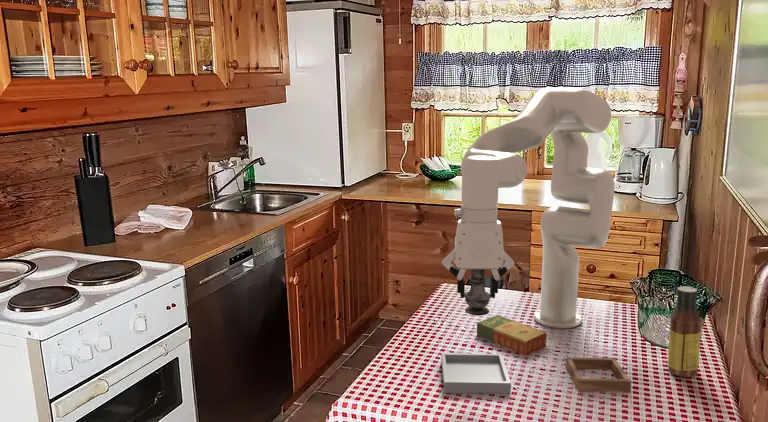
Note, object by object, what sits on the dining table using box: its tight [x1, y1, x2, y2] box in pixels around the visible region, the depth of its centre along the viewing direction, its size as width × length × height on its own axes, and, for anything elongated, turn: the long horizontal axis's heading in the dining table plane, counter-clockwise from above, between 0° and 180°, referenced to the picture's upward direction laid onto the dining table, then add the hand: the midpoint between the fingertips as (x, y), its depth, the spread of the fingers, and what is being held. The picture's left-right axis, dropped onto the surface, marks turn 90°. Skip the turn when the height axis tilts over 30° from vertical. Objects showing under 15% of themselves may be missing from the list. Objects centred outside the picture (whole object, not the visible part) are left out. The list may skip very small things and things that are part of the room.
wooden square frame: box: [565, 357, 632, 393], centre depth 138 cm, size 11×11×2 cm
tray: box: [440, 352, 512, 395], centre depth 139 cm, size 14×14×2 cm
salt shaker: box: [464, 269, 491, 317], centre depth 135 cm, size 6×6×12 cm
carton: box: [476, 314, 548, 357], centre depth 158 cm, size 8×16×4 cm, turn 39°
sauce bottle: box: [667, 285, 702, 378], centre depth 139 cm, size 6×6×20 cm
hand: (477, 295), depth 135 cm, fingers closed on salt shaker, 5 cm apart
